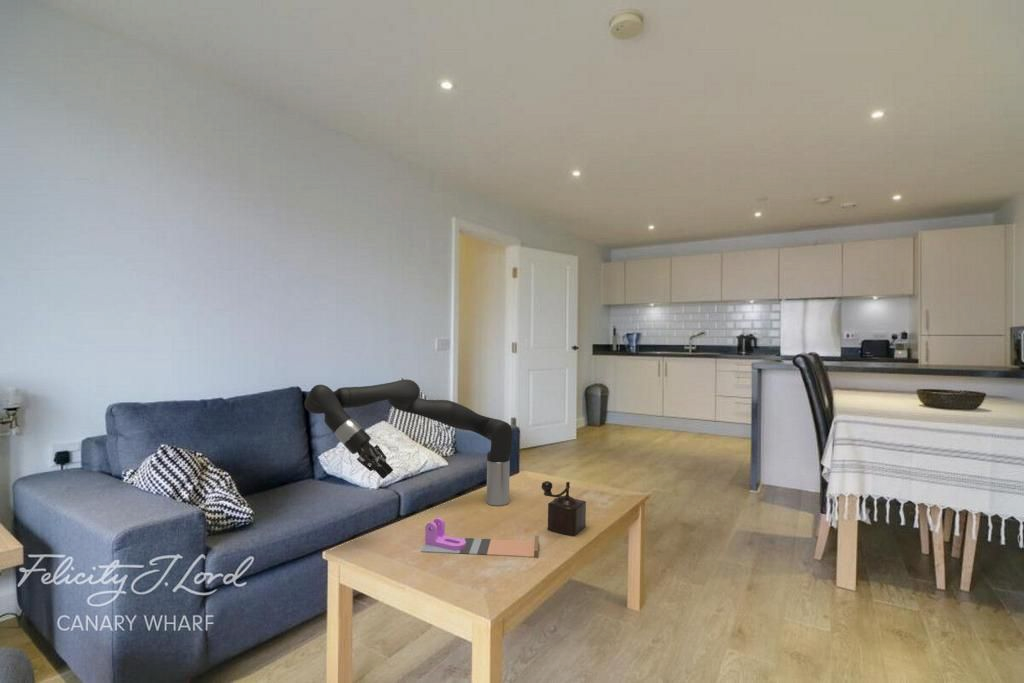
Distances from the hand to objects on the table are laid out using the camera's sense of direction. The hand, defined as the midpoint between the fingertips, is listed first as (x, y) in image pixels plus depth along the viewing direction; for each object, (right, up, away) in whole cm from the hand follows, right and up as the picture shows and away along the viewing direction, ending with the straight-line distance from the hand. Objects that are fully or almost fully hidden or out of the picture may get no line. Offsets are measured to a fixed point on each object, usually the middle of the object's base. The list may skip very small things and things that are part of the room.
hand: (388, 474), depth 153 cm
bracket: (+19, -22, -1) cm, 29 cm away
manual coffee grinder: (+58, -23, +12) cm, 63 cm away
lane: (+31, -23, -2) cm, 38 cm away
